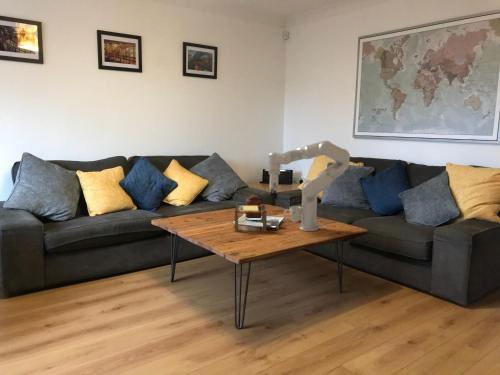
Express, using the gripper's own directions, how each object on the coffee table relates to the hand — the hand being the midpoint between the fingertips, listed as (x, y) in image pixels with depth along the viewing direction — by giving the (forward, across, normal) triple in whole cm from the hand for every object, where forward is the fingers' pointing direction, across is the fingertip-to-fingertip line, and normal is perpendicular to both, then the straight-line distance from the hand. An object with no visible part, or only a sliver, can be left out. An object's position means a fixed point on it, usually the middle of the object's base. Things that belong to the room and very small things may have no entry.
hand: (273, 197), depth 273 cm
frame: (+20, +1, -15) cm, 25 cm away
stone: (+20, +2, +1) cm, 20 cm away
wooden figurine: (+20, -20, -12) cm, 31 cm away
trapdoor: (+8, +1, -16) cm, 18 cm away
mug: (+20, -16, +15) cm, 30 cm away
